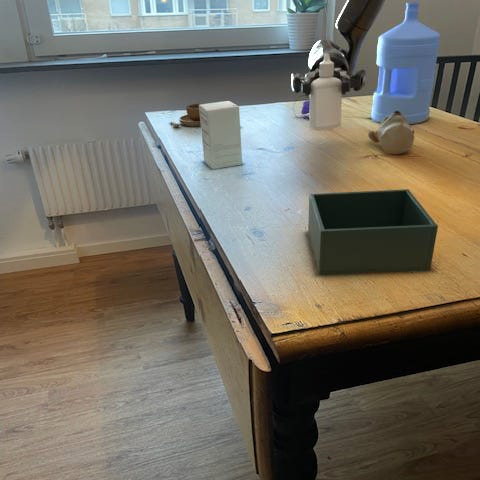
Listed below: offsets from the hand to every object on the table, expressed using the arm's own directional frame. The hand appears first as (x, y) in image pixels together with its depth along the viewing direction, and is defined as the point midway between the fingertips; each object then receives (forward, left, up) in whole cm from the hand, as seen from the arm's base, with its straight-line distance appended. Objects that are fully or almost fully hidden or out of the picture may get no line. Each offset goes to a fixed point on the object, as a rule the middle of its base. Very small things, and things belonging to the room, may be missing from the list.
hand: (325, 88), depth 86 cm
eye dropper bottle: (-1, -2, -7) cm, 8 cm away
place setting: (+27, -62, -19) cm, 70 cm away
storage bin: (-3, +25, -18) cm, 31 cm away
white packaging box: (+20, -23, -19) cm, 36 cm away
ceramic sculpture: (-20, -28, -19) cm, 39 cm away
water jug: (-29, -57, -19) cm, 67 cm away
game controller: (-6, -64, -19) cm, 67 cm away
